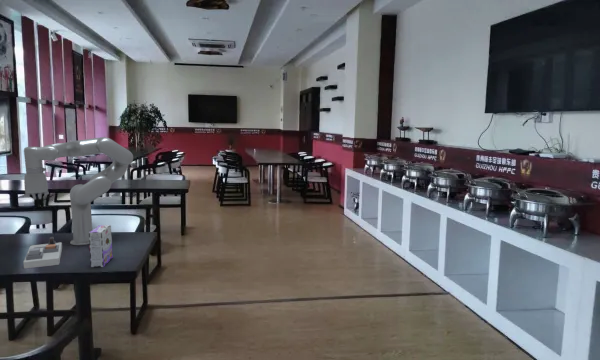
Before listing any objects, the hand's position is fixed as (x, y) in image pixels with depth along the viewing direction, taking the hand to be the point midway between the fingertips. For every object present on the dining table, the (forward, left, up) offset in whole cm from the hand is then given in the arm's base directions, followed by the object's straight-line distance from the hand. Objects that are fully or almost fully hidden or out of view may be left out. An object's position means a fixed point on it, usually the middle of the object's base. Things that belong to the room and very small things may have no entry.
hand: (38, 206), depth 234 cm
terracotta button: (-6, +19, -19) cm, 27 cm away
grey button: (0, +28, -17) cm, 33 cm away
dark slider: (-6, +10, -18) cm, 22 cm away
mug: (-27, +24, -22) cm, 42 cm away
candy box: (-28, +39, -22) cm, 53 cm away
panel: (-3, +19, -22) cm, 29 cm away
